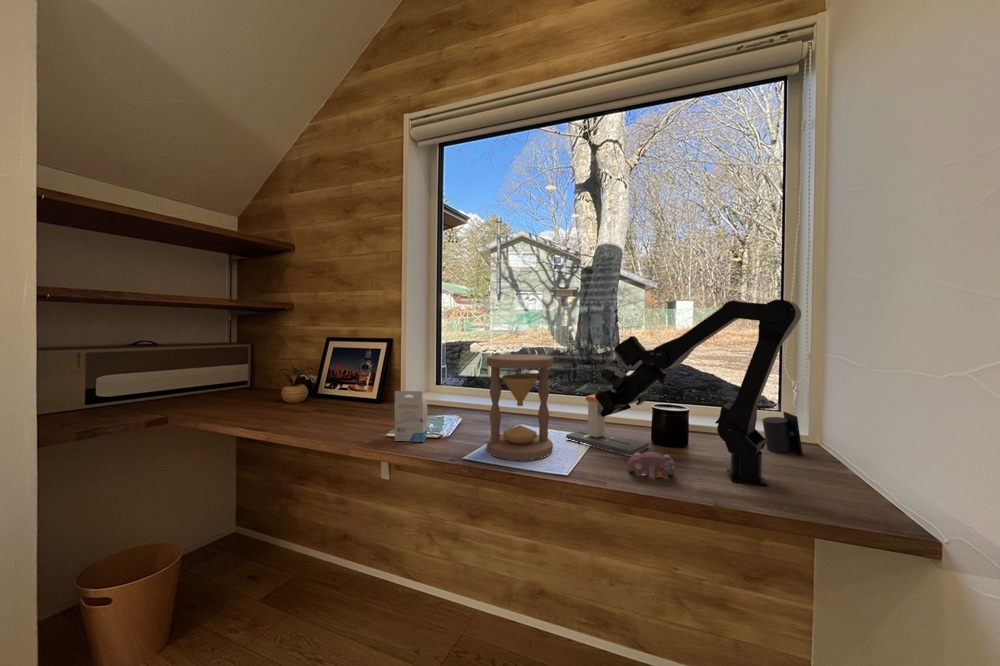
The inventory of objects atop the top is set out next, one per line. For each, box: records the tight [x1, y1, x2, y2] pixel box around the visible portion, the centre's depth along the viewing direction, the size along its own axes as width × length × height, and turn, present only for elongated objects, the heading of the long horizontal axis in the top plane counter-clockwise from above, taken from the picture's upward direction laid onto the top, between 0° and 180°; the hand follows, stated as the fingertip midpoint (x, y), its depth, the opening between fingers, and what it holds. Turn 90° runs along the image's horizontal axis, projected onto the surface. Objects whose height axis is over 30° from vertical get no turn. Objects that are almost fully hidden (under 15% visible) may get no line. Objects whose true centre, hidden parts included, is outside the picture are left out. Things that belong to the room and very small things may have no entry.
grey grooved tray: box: [565, 427, 650, 455], centre depth 108 cm, size 20×10×2 cm, turn 44°
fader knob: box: [585, 393, 606, 437], centre depth 110 cm, size 4×5×11 cm
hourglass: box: [486, 353, 554, 461], centre depth 102 cm, size 18×18×25 cm
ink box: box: [393, 390, 428, 443], centre depth 111 cm, size 8×5×15 cm, turn 85°
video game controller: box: [627, 451, 677, 478], centre depth 85 cm, size 10×5×7 cm, turn 77°
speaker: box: [762, 411, 804, 457], centre depth 102 cm, size 8×6×10 cm
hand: (602, 415), depth 109 cm, fingers closed, pressing on fader knob
